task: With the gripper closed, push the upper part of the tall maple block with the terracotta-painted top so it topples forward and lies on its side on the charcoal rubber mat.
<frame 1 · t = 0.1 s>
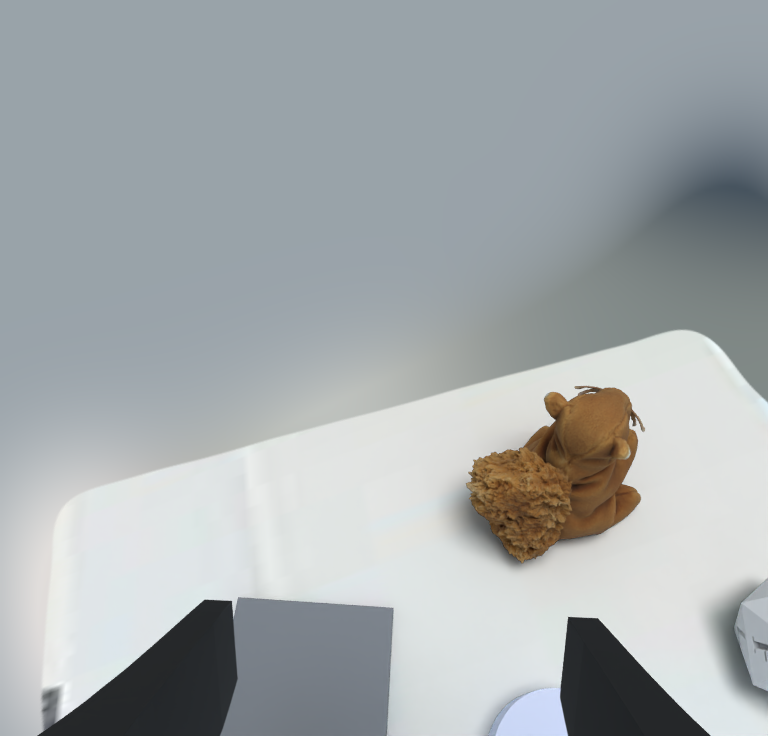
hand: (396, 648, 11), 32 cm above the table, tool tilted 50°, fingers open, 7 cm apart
brown furry figure: (543, 504, 46), on the table
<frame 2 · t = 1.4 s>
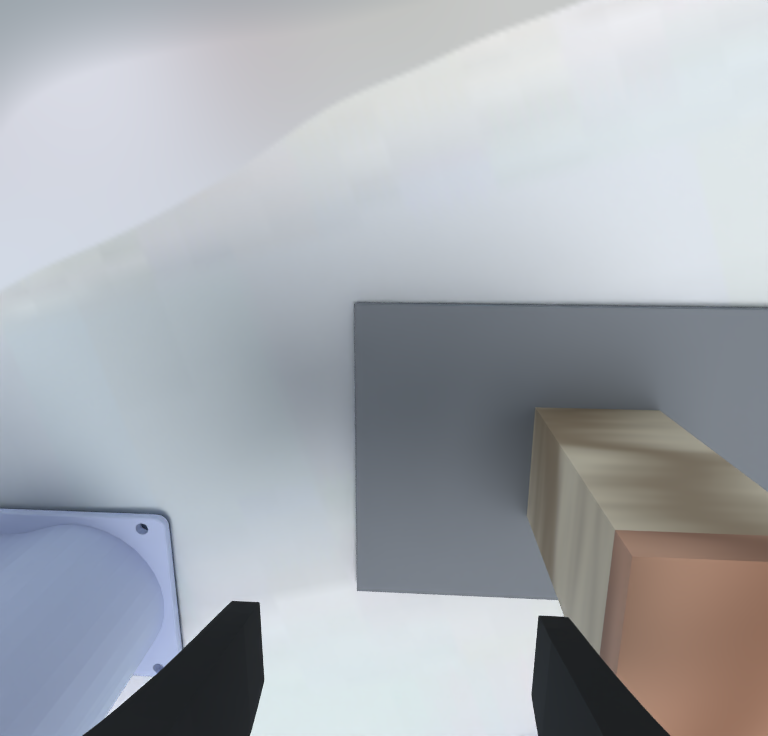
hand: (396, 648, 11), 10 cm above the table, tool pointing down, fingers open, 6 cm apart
rubber mat: (638, 460, 21), on the table
maple block: (590, 465, 21), point 1 cm above the table, touching rubber mat
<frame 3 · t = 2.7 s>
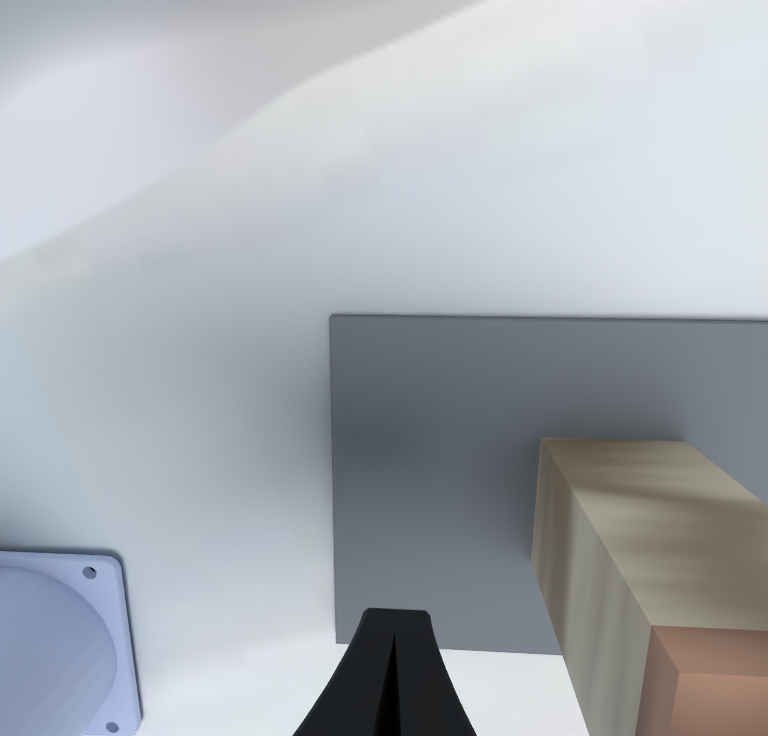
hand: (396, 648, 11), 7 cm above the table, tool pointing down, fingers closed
rubber mat: (660, 496, 18), on the table
maple block: (605, 503, 18), point 1 cm above the table, touching rubber mat
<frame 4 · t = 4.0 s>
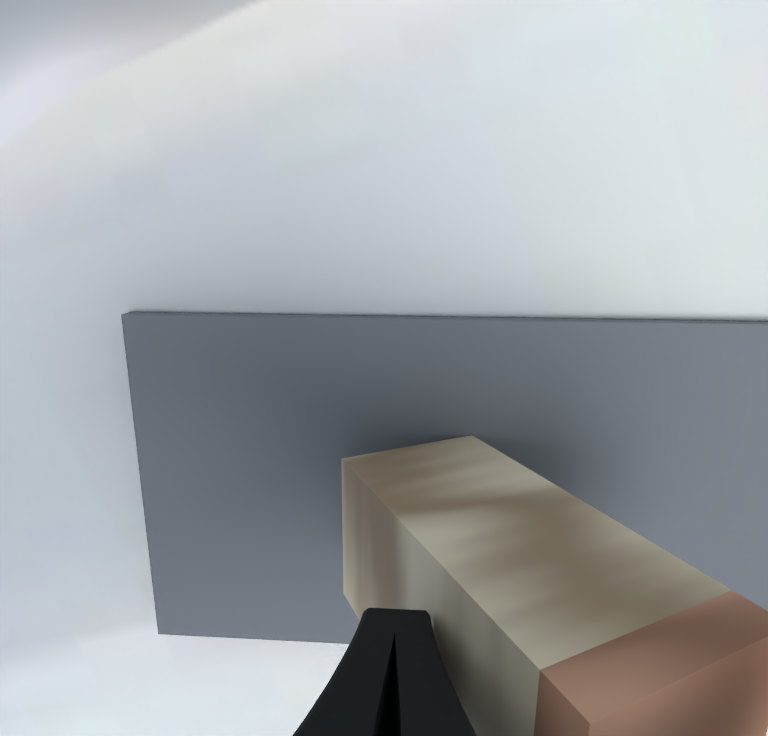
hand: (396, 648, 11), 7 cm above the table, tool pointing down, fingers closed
rubber mat: (460, 489, 19), on the table
maple block: (409, 512, 17), point 2 cm above the table, tilted 28°, touching rubber mat
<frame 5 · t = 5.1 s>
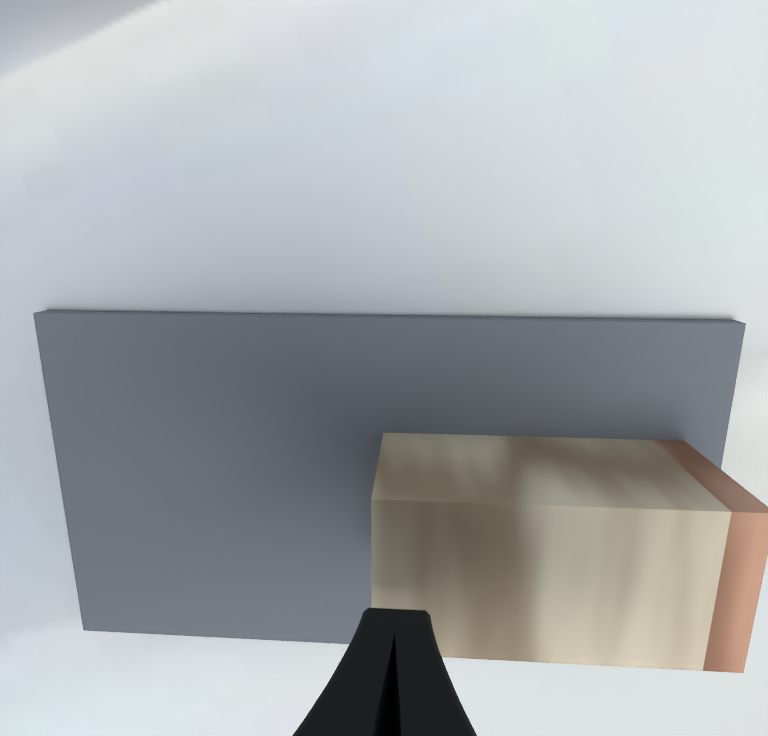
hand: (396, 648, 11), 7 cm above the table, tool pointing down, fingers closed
rubber mat: (376, 486, 19), on the table
maple block: (378, 531, 16), point 3 cm above the table, tilted 90°, touching rubber mat
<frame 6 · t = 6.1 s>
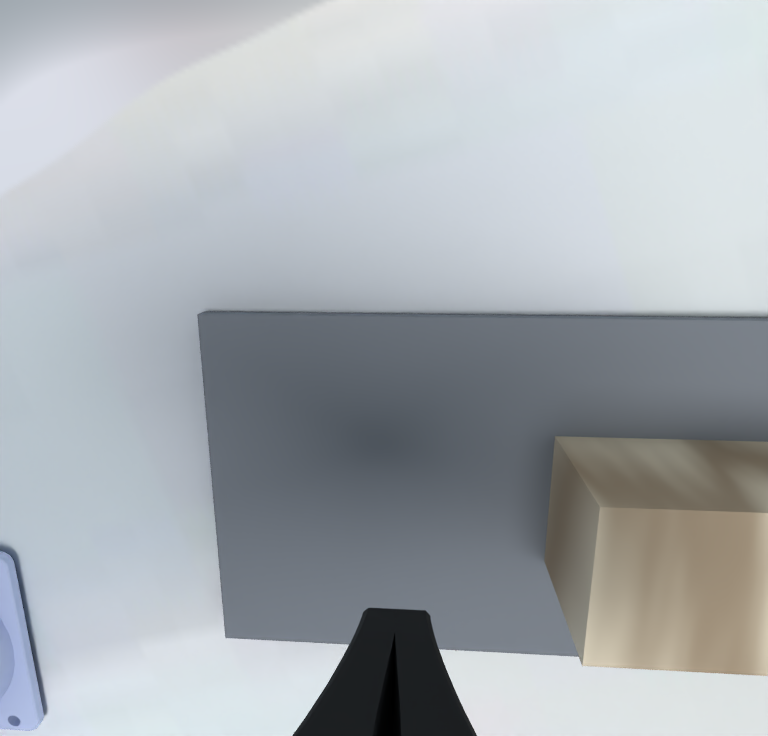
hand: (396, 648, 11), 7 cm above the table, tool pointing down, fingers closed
rubber mat: (537, 491, 18), on the table
maple block: (567, 539, 15), point 3 cm above the table, tilted 90°, touching rubber mat
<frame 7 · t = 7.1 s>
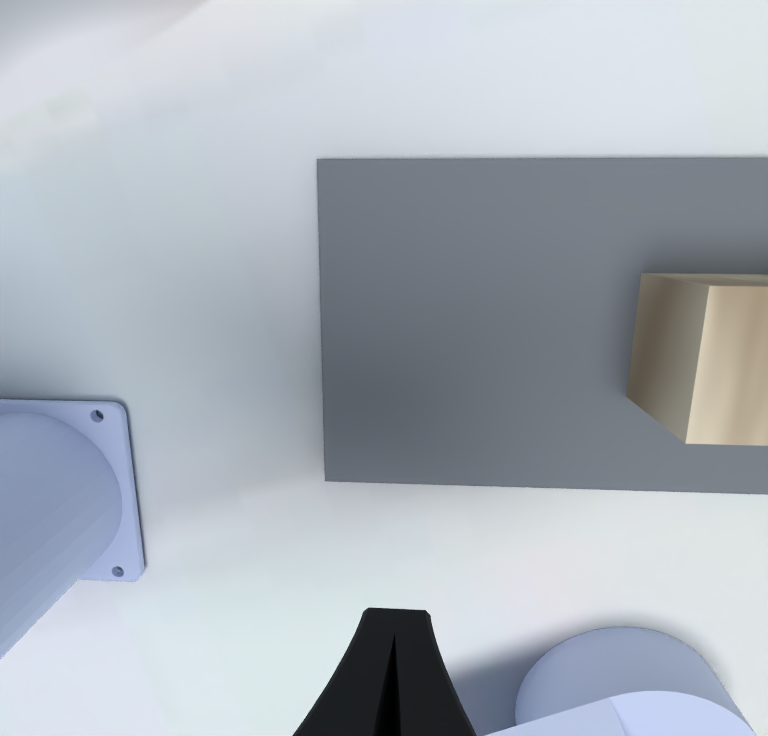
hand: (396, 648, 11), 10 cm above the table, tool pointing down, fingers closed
rubber mat: (619, 333, 20), on the table
wedge on round base: (572, 720, 25), on the table
maple block: (661, 350, 17), point 3 cm above the table, tilted 90°, touching rubber mat
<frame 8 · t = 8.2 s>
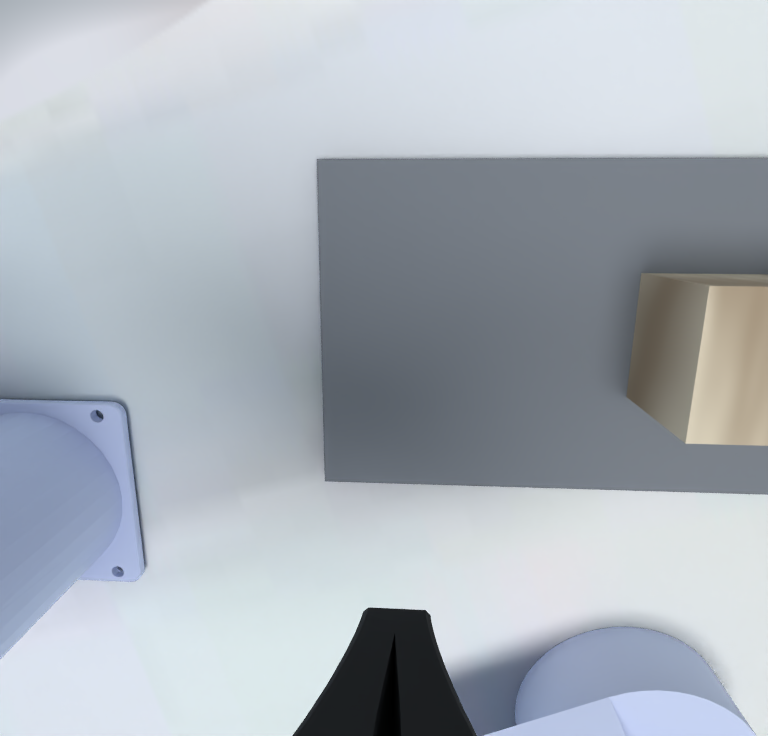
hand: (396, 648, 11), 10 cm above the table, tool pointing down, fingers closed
rubber mat: (619, 333, 20), on the table
wedge on round base: (572, 720, 25), on the table
maple block: (661, 350, 17), point 3 cm above the table, tilted 90°, touching rubber mat
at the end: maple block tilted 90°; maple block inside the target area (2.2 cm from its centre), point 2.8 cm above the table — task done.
